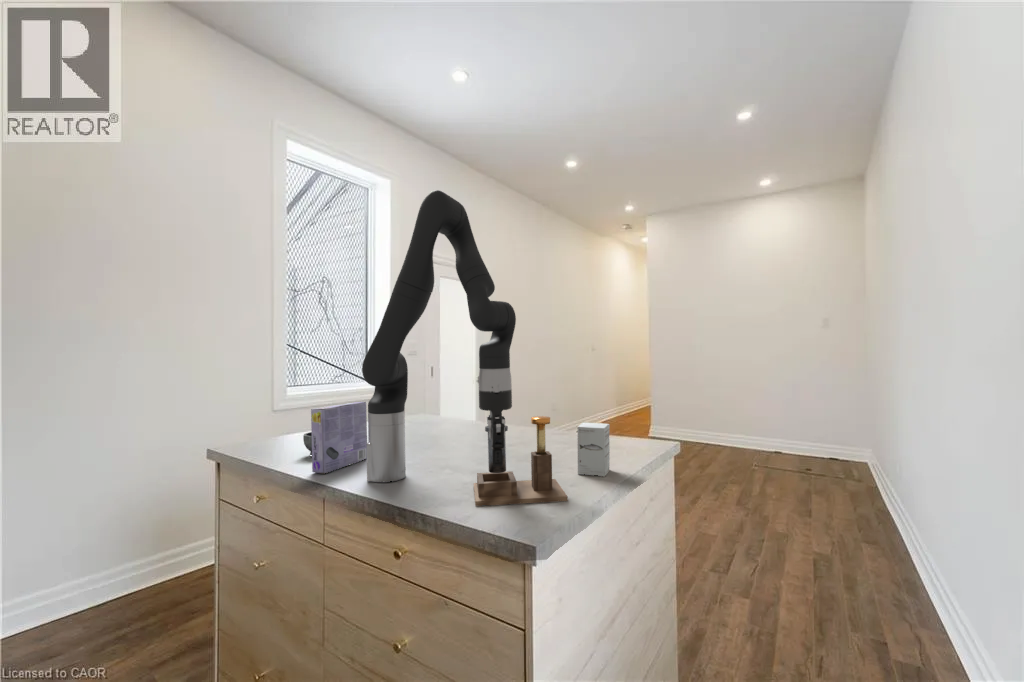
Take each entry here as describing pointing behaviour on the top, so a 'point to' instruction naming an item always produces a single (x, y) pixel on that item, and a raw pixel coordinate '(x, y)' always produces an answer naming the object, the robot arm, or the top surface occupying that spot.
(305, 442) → the mortar and pestle
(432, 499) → the top surface
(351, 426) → the cake pan box
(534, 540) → the top surface
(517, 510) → the top surface
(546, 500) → the dock mount
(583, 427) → the supplement box
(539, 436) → the lock pin
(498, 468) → the spigot
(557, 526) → the top surface
